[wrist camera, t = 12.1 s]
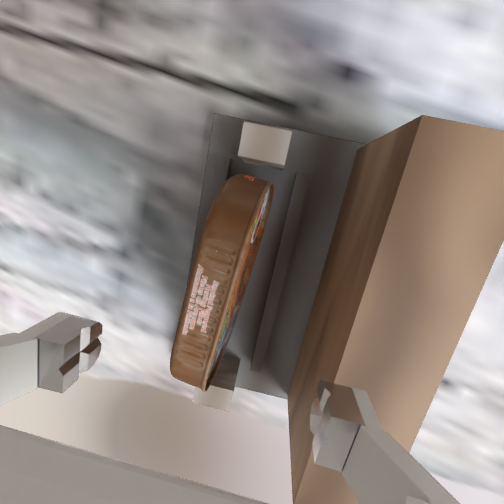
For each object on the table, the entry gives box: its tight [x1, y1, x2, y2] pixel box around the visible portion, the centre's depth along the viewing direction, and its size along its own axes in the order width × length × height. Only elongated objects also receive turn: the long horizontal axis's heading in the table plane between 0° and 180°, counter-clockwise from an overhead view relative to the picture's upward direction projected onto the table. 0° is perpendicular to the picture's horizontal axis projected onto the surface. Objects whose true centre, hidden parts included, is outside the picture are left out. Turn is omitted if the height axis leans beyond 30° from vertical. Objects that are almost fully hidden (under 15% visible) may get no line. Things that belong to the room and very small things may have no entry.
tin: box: [170, 174, 274, 392], centre depth 18 cm, size 15×3×8 cm, turn 163°
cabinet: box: [187, 113, 504, 504], centre depth 19 cm, size 16×23×10 cm
